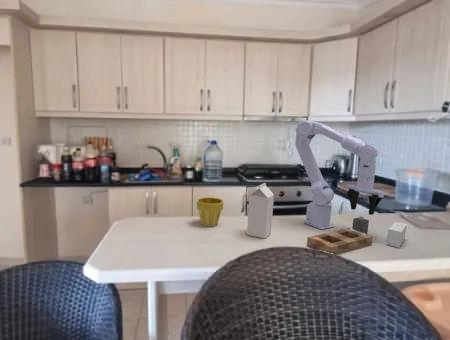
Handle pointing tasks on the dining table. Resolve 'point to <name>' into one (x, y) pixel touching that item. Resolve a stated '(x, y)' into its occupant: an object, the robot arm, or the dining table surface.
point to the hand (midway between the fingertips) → (362, 211)
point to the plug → (360, 224)
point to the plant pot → (209, 210)
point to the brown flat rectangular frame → (339, 241)
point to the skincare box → (396, 234)
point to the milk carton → (260, 212)
